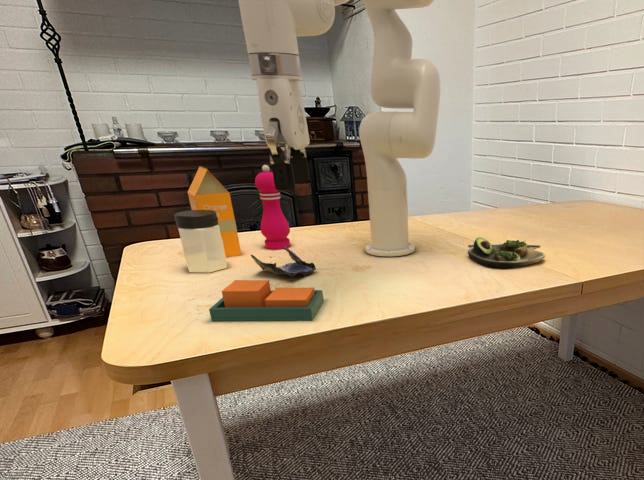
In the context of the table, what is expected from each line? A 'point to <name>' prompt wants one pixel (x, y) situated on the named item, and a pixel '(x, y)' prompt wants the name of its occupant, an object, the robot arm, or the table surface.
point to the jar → (201, 240)
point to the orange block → (246, 293)
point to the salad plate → (504, 253)
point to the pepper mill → (272, 212)
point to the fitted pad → (290, 297)
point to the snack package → (288, 266)
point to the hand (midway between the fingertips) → (293, 185)
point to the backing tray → (266, 311)
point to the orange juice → (215, 207)
